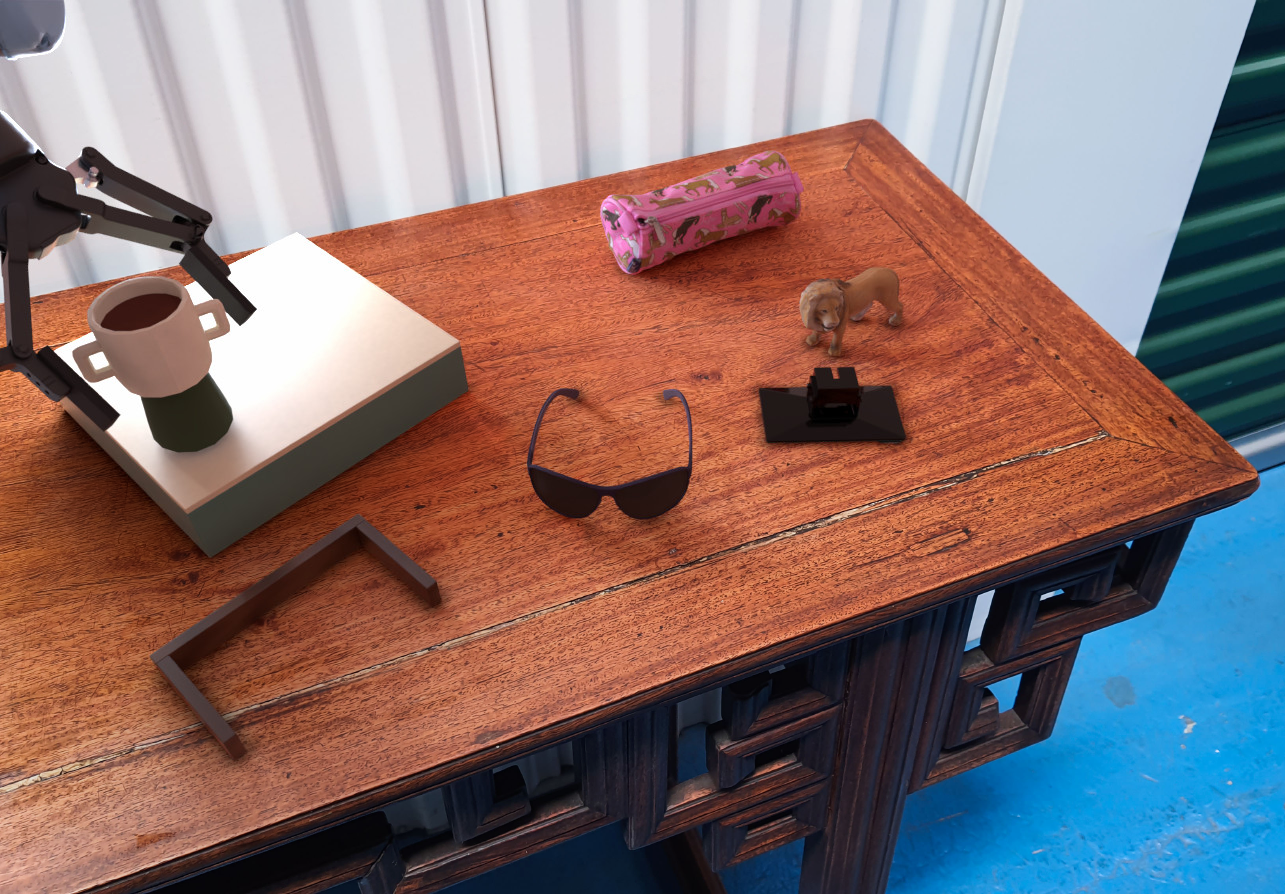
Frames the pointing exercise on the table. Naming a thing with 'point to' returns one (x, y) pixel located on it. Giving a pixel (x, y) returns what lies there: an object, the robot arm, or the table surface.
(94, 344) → the character mug
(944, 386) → the table surface
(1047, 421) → the table surface
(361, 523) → the dark brown u-shaped bracket
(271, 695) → the table surface
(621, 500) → the sunglasses
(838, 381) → the build plate
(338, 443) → the cream square platform
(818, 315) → the lion figurine
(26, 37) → the robot arm
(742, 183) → the pencil case
